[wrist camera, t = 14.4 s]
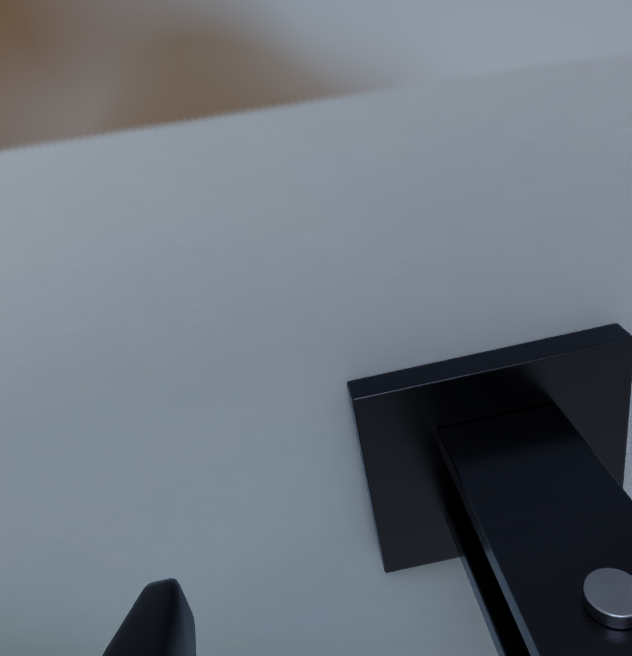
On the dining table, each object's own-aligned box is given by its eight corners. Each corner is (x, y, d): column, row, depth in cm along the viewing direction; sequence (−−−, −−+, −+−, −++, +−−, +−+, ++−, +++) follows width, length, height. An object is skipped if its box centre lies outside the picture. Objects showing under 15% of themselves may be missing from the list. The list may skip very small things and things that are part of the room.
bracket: (379, 551, 26) (457, 862, 17) (346, 380, 22) (425, 670, 12) (605, 501, 26) (811, 783, 17) (617, 321, 22) (904, 565, 12)
